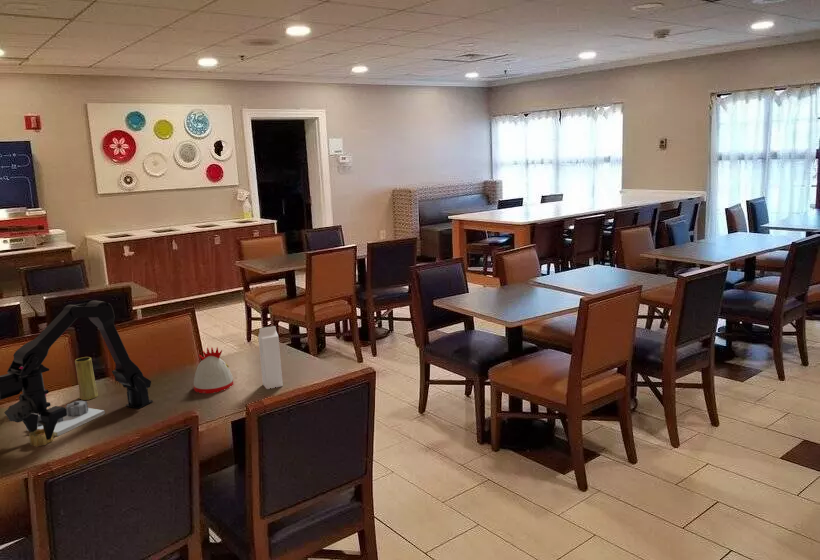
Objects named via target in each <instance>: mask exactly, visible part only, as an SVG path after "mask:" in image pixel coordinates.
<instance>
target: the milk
mask: <svg viewBox="0 0 820 560" xmlns="http://www.w3.org/2000/svg"><path fill="white" fill-rule="evenodd" d="M258 331H259V332H258V335H257V337H258V348H259V358H260V368H261V369H260V370H261V377H262V378H261V379H262V380H261V381H262V385H263V386H264V388H265V389H266V390H271V389H275V387H276V388H279V387H283V386H284V384H283V373H282V361H281V350H280V338H279V334H278V332H277V327H276V325H273V326H265V327H261V328H259V329H258ZM270 388H271V389H270Z"/></svg>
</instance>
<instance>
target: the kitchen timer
mask: <svg viewBox="0 0 820 560" xmlns="http://www.w3.org/2000/svg"><path fill="white" fill-rule="evenodd" d="M210 349H211V351H210ZM210 349H209V347H207V348H206V351H204V350H202V354H203V356H202V354H199V355H198V356H199V358H200V359H201V361H200V362H199V363H198V365H197V368H196V370H195V374H194V377H193V390H194V392H196V393H198V392H199V393H198V394H214V392H216V393H220V392H219V391H221V390H224V389H227V388H229V387H230V386H232V385H233V386H234V377H233V374H232V372H231V370H230V368H229V367H230V366H229V365H228V364H227V363H226V362H225V361H224V360H223V359H221V356H222V352H223V349H221V350H220V351H219V347H218V346H216V349H215V350H216V351H214V348H213V347H211V348H210ZM233 386H232V387H233ZM229 389H230V388H229ZM227 390H228V389H227ZM224 391H225V390H224ZM221 392H222V391H221Z"/></svg>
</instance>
